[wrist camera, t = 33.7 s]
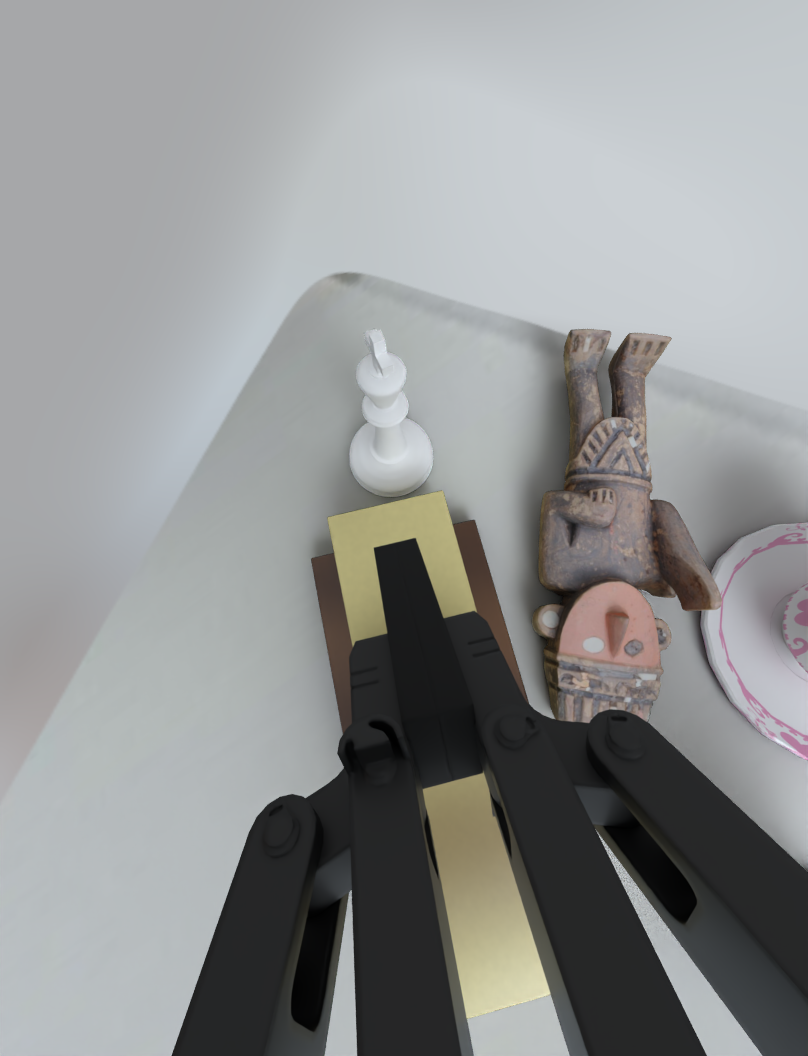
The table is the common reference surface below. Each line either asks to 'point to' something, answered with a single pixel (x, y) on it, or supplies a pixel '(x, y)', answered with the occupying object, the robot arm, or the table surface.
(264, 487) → the table surface
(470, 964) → the butter board
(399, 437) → the chess piece
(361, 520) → the butter slice
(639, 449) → the figurine
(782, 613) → the teacup
